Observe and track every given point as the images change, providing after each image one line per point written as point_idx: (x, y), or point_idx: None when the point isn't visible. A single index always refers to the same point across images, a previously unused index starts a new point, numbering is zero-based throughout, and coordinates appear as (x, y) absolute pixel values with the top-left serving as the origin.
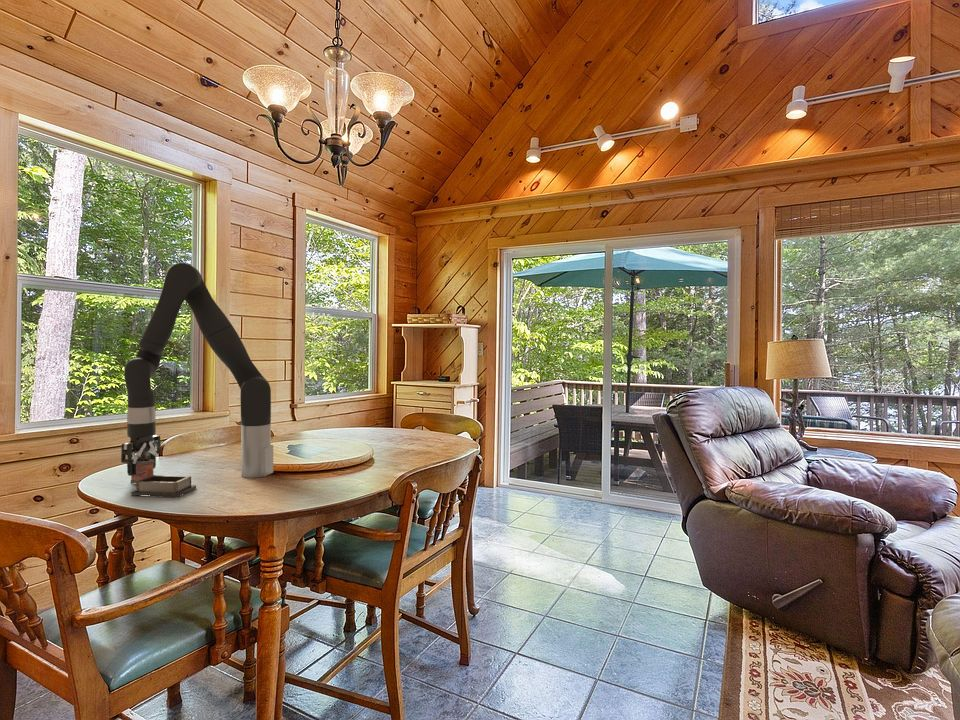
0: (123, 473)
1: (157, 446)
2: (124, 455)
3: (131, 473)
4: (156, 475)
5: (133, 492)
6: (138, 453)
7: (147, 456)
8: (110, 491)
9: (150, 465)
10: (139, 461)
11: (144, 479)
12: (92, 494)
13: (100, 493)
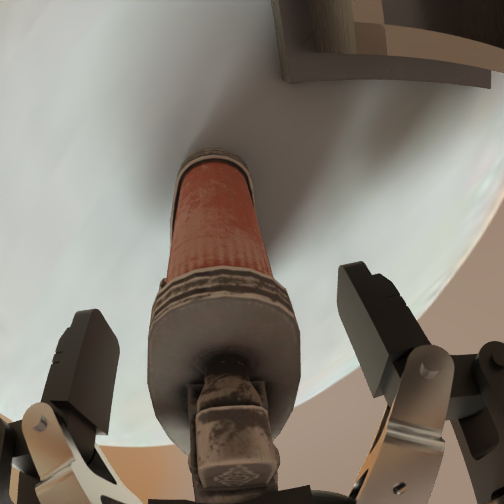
0: (130, 417)
1: (3, 499)
2: (485, 446)
3: (387, 280)
4: (362, 7)
5: (489, 74)
6: (436, 468)
7: (260, 421)
8: (401, 263)
9: (245, 254)
10: (296, 393)
11: (494, 47)
12: (437, 289)
13: (428, 274)
